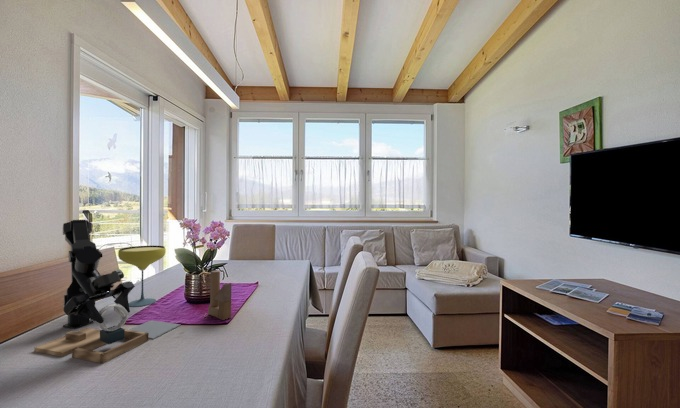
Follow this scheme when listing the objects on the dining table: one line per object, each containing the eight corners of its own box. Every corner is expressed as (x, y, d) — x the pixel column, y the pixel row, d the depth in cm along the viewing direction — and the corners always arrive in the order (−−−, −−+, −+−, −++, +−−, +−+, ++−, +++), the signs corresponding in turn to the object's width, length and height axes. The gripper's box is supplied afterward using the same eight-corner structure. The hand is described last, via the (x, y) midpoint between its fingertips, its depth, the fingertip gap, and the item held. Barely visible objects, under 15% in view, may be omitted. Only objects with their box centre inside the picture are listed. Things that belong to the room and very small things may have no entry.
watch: (131, 336, 97) (131, 302, 97) (102, 346, 90) (102, 310, 90) (121, 332, 100) (122, 299, 100) (92, 342, 93) (93, 307, 93)
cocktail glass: (122, 299, 142) (122, 246, 142) (166, 294, 150) (166, 244, 150) (113, 312, 126) (114, 252, 126) (163, 306, 134) (164, 249, 134)
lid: (34, 351, 93) (34, 340, 93) (86, 331, 107) (86, 322, 107) (62, 356, 90) (62, 346, 90) (112, 335, 104) (112, 326, 104)
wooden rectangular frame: (72, 357, 89) (72, 348, 89) (120, 335, 104) (120, 328, 104) (102, 363, 86) (102, 354, 86) (148, 340, 101) (148, 332, 101)
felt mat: (121, 334, 105) (121, 333, 105) (150, 321, 117) (150, 320, 117) (153, 339, 102) (153, 338, 101) (180, 325, 113) (180, 324, 113)
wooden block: (223, 320, 118) (223, 275, 118) (207, 314, 124) (208, 271, 124) (231, 317, 121) (232, 273, 121) (216, 312, 127) (216, 269, 127)
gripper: (70, 269, 87) (99, 311, 84) (130, 257, 105) (156, 292, 102) (51, 294, 89) (78, 336, 86) (113, 278, 107) (137, 312, 104)
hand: (116, 317), depth 95 cm, fingers closed on watch, 8 cm apart
